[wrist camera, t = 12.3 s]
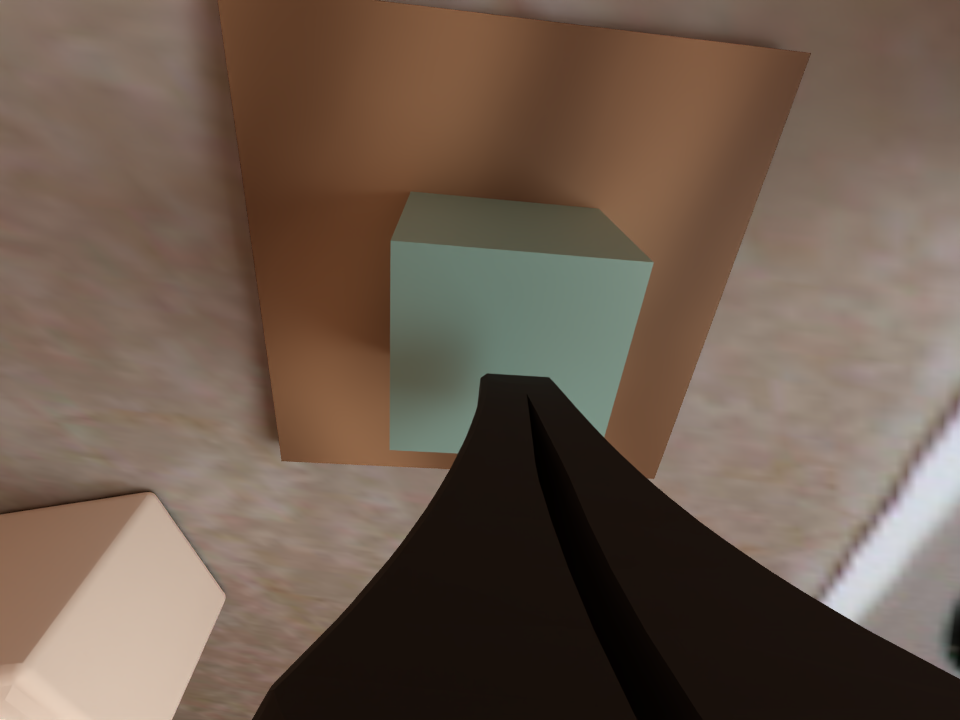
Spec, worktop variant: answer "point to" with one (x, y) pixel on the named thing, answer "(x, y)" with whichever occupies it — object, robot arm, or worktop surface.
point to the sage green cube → (505, 309)
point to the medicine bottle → (100, 611)
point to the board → (482, 184)
